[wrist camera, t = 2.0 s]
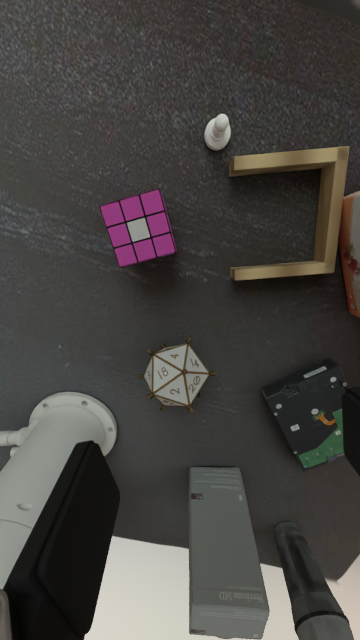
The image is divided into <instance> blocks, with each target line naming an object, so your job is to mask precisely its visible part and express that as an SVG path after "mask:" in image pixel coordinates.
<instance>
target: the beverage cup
mask: <svg viewBox="0 0 360 640" xmlns="http://www.w3.org/2000/svg"><path fill="white" fill-rule="evenodd" d="M274 534H275V538H276V544H277V548H278V552H279V557H280V561H281V565H282V569H283V573H284V577H285V581H286V585H287V589H288V593H289V597H290V601H291V607H292V614H293V620H294V624H295V631H296V634H297V635H298V638H299V640H354V638H353V635H352V631H351V629H350V626H349V621H348V619H347V617H346V616H345V615H344V613H343V611H342V610H341V608H340V606H339V604H338V602H337V601H336V599H335V598H334V596H333V594H332V593H331V590H330V588H329V586H328V584H327V582H326V580H325V578H324V576H323V574H322V572H321V570H320V568H319V566H318V564H317V562H316V560H315V558H314V556H313V554H312V552H311V550H310V548H309V546H308V544H307V542H306V540H305V538H304V536H303V534H302V533H301V531H300V529H299V527H298V525H297V524H296V523H294V522H289V521H287V522H282V523H280V524H278V525H277V526H276V527H275V528H274Z"/></svg>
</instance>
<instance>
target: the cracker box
mask: <svg viewBox="0 0 360 640" xmlns="http://www.w3.org/2000/svg"><path fill="white" fill-rule="evenodd" d="M338 244H339V250H340V256H341V263H342V269H343V275H344V281H345V288H346V294H347V301H348V307H349V312H350V313H351V314H353V315H355V316H357V317H359V318H360V191H357V192H355V193H352V194H350V195H347V196H345V197H343V203H342V212H341V220H340V228H339V236H338Z"/></svg>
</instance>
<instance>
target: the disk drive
mask: <svg viewBox="0 0 360 640" xmlns="http://www.w3.org/2000/svg"><path fill="white" fill-rule="evenodd" d="M347 389H349V388H348V385H347V382H346V379H345V376H344V374H343V372H342V370H341V367H340V366H339V365H337V364H336V363H335V362H334V361H332V360H331V359H327V360H325V361H322V362H319V363H317V364H314V365H312V366H310V367H308V368H306V369H303V370H301V371H299V372H297V373H294V374H292V375H290V376H287V377H285V378H283V379H281V380H279V381H276V382H274V383H272V384H270V385H268V386H266V387H264V388H262V389H261V392H262V393H263V395H264V398H265V400H266V402H267V404H268V406H269V408H270V409H271V411H272V413H273V414H274V416H275V418H276V420H277V422H278V424H279V426H280V428H281V430H282V432H283V434H284V436H285V438H286V440H287V442H288V443H289V446H290V448H291V450H292V452H293V454H294V456H295V458H296V460H297V461H298V463H299V465H300V467H301V468H302V470H303V471H307V470H309V469H312V468H314V467H317V466H320V465H322V464H325V463H327V462H331V461H334V460H336V459H337V456H338V457H339V456H342V455H345V454H344V449H343V422H342V395H343V394H345V391H346V390H347Z"/></svg>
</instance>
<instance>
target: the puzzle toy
mask: <svg viewBox="0 0 360 640" xmlns="http://www.w3.org/2000/svg"><path fill="white" fill-rule="evenodd" d="M99 208H100V211H101V214H102V217H103V220H104V223H105V226H106V227H107V232H108V234H109V237H110V240H111V243H112V246H113V248H114V252H115V255H116V258H117V261H118V264H119V267H120V268H122V267H126V266H130V265H133V264H137V263H141V262H144V261H148V260H152V259H155V258H159V257H163V256H166V255H170V254H174V253H176V250H177V248H176V244H175V240H174V236H173V234H172V233H173V232H172V229H171V225H170V221H169V217H168V213H167V209H166V205H165V201H164V198H163V195H162V193H161V190H160V189H159V188H158V189H154V190H151V191H148V192H144V193H141V194H139V195H134V196H131V197H128V198H124V199H121V200H119V201H118V200H117V201H114V202H111V203H107V204H104V205H101V206H100V207H99Z"/></svg>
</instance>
